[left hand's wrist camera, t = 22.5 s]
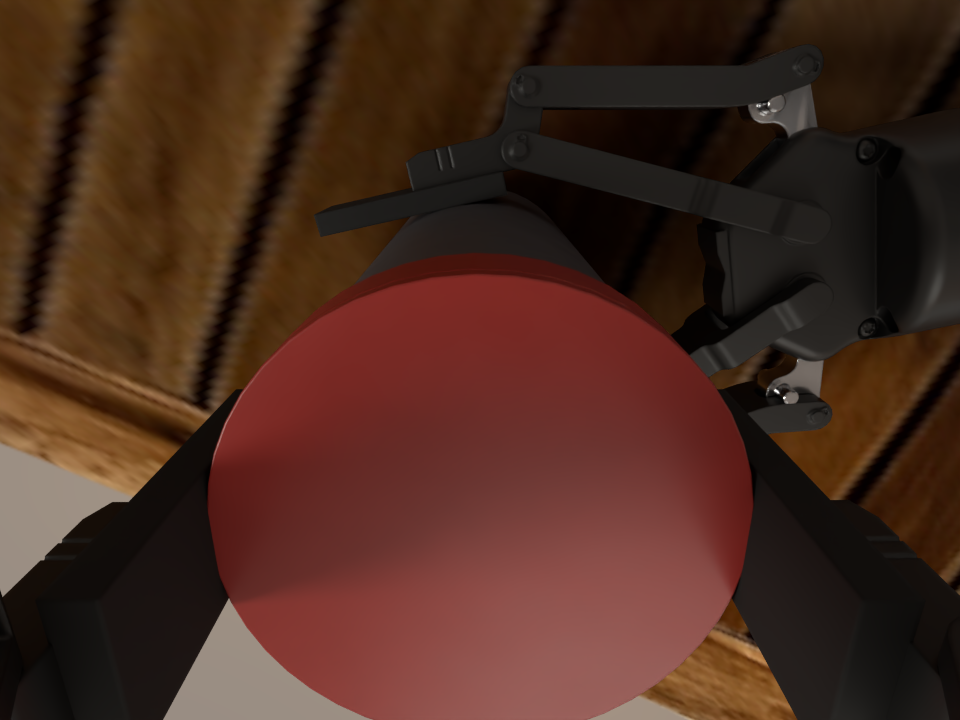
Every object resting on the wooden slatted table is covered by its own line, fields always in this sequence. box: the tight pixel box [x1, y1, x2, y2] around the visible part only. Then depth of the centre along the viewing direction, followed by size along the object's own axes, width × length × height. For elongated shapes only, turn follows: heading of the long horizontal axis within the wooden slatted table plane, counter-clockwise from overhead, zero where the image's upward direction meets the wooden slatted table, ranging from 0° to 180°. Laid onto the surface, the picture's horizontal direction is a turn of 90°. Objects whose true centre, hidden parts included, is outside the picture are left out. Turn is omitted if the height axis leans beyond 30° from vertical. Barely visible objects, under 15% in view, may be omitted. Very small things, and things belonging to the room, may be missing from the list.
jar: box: [354, 191, 605, 285], centre depth 20 cm, size 9×9×19 cm
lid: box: [207, 253, 754, 720], centre depth 11 cm, size 9×9×2 cm
